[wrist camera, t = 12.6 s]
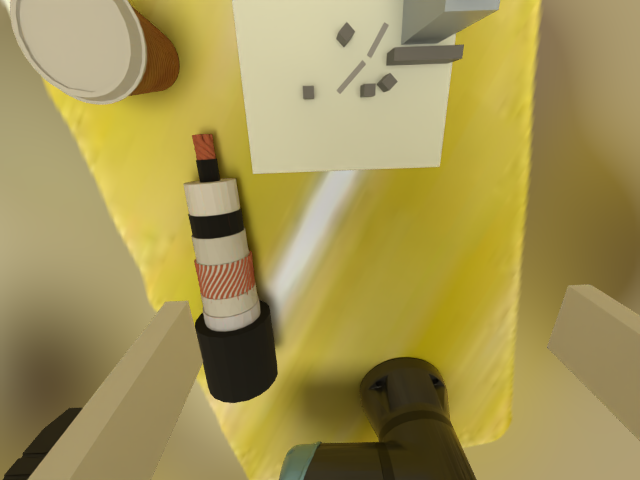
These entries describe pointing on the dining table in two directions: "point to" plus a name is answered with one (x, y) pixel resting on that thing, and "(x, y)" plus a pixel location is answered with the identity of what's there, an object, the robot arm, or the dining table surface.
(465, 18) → the block
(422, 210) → the dining table surface
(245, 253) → the cable
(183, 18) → the dining table surface
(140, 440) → the robot arm
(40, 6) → the disposable coffee cup
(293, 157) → the routing panel
